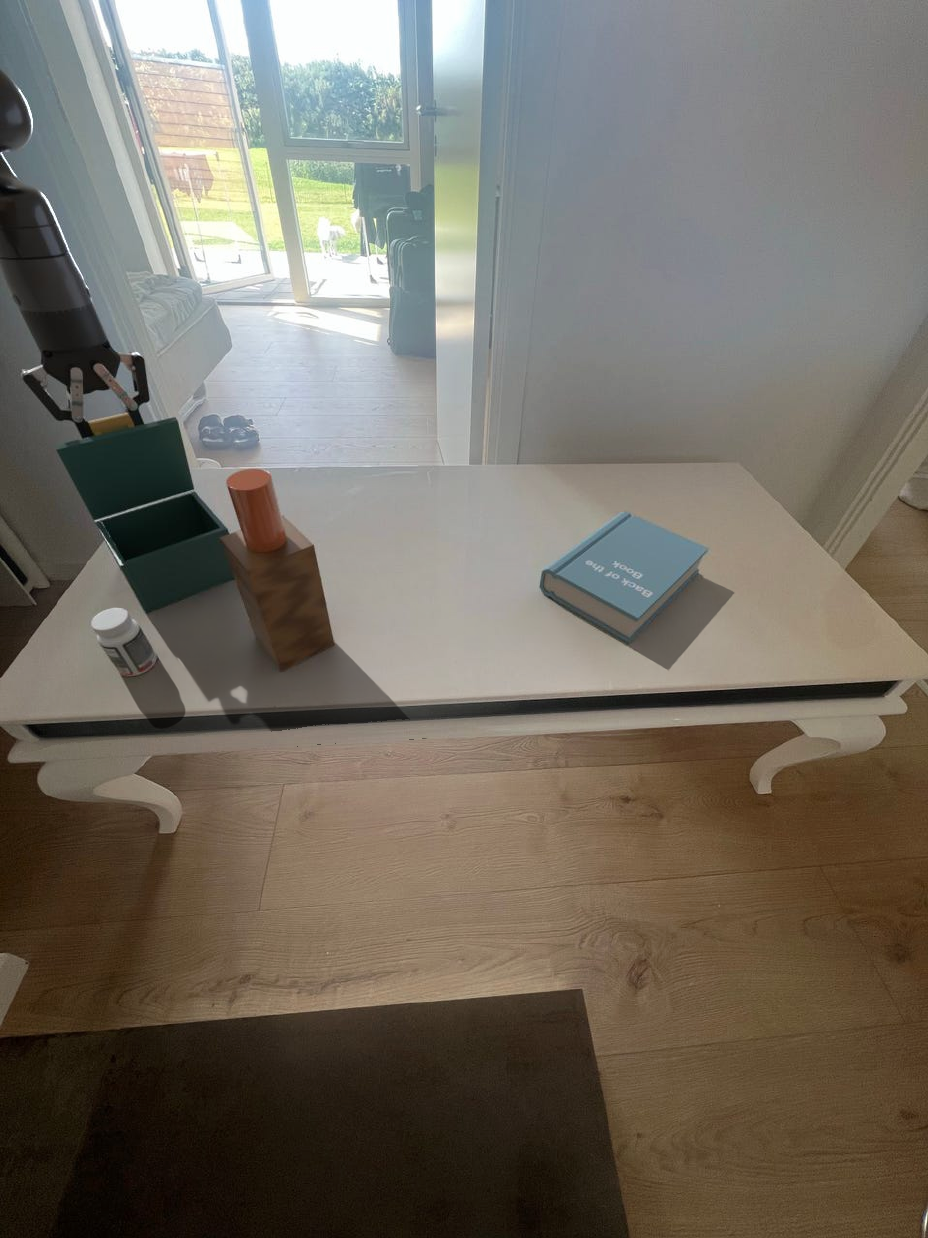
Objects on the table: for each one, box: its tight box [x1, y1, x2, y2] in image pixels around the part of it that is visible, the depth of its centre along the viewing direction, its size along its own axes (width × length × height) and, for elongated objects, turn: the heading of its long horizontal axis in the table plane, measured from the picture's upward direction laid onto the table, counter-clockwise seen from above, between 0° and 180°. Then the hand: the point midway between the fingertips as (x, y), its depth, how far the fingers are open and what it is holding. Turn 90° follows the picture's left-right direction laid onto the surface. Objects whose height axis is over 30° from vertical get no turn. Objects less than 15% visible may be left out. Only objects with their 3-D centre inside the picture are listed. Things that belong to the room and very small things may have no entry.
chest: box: [93, 490, 235, 615], centre depth 80 cm, size 14×15×9 cm
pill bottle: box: [90, 607, 158, 677], centre depth 66 cm, size 5×5×8 cm
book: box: [538, 510, 709, 644], centre depth 82 cm, size 23×16×5 cm
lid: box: [53, 412, 195, 521], centre depth 74 cm, size 14×15×5 cm
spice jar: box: [225, 468, 287, 553], centre depth 58 cm, size 5×5×8 cm
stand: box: [220, 514, 335, 673], centre depth 67 cm, size 8×8×17 cm
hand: (117, 440), depth 72 cm, fingers closed on lid, 5 cm apart
